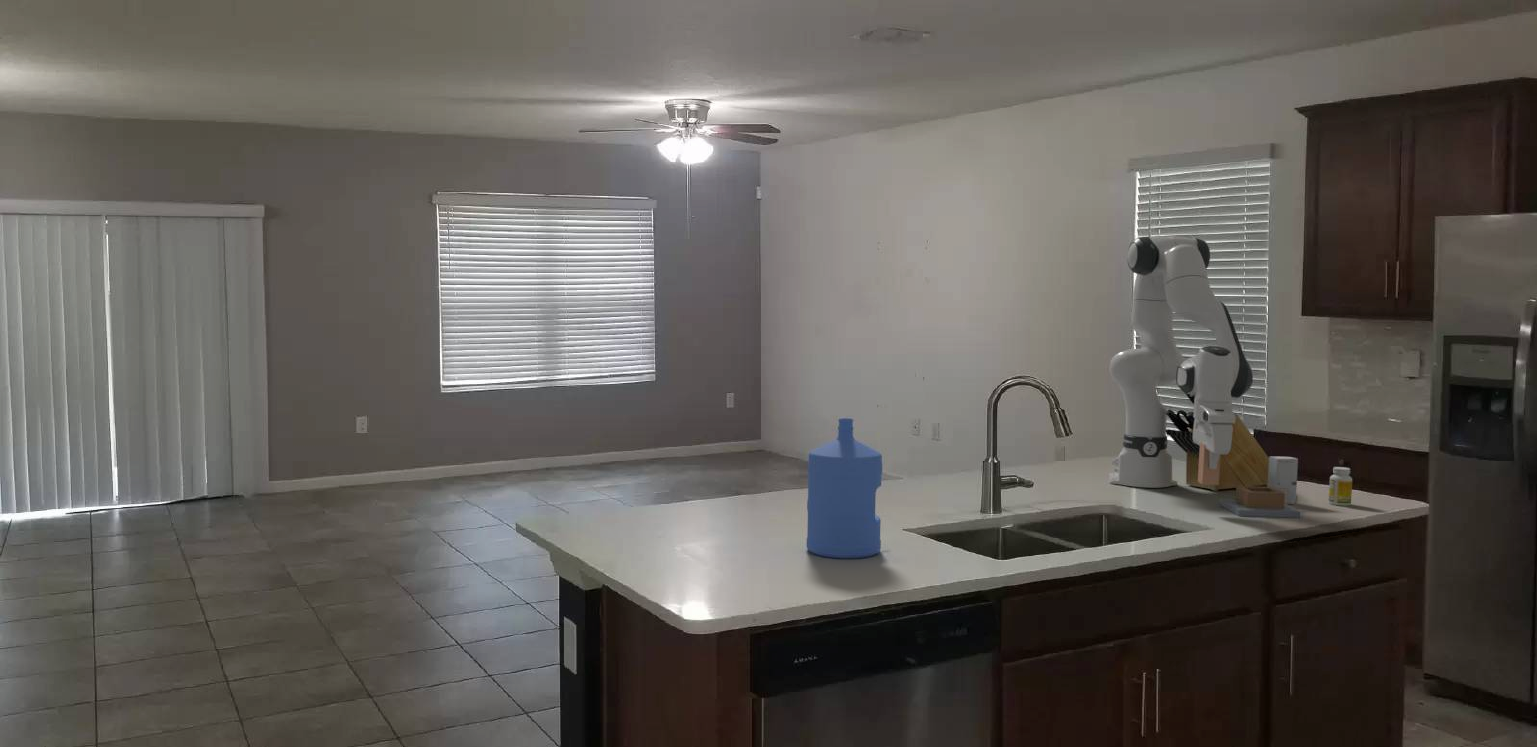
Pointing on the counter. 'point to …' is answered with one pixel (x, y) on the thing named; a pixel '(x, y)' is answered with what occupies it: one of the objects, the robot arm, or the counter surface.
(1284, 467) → the skincare box
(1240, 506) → the collar socket
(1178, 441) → the knife block
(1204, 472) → the terracotta peg
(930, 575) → the counter surface
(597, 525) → the counter surface
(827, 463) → the water jug
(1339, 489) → the supplement bottle
